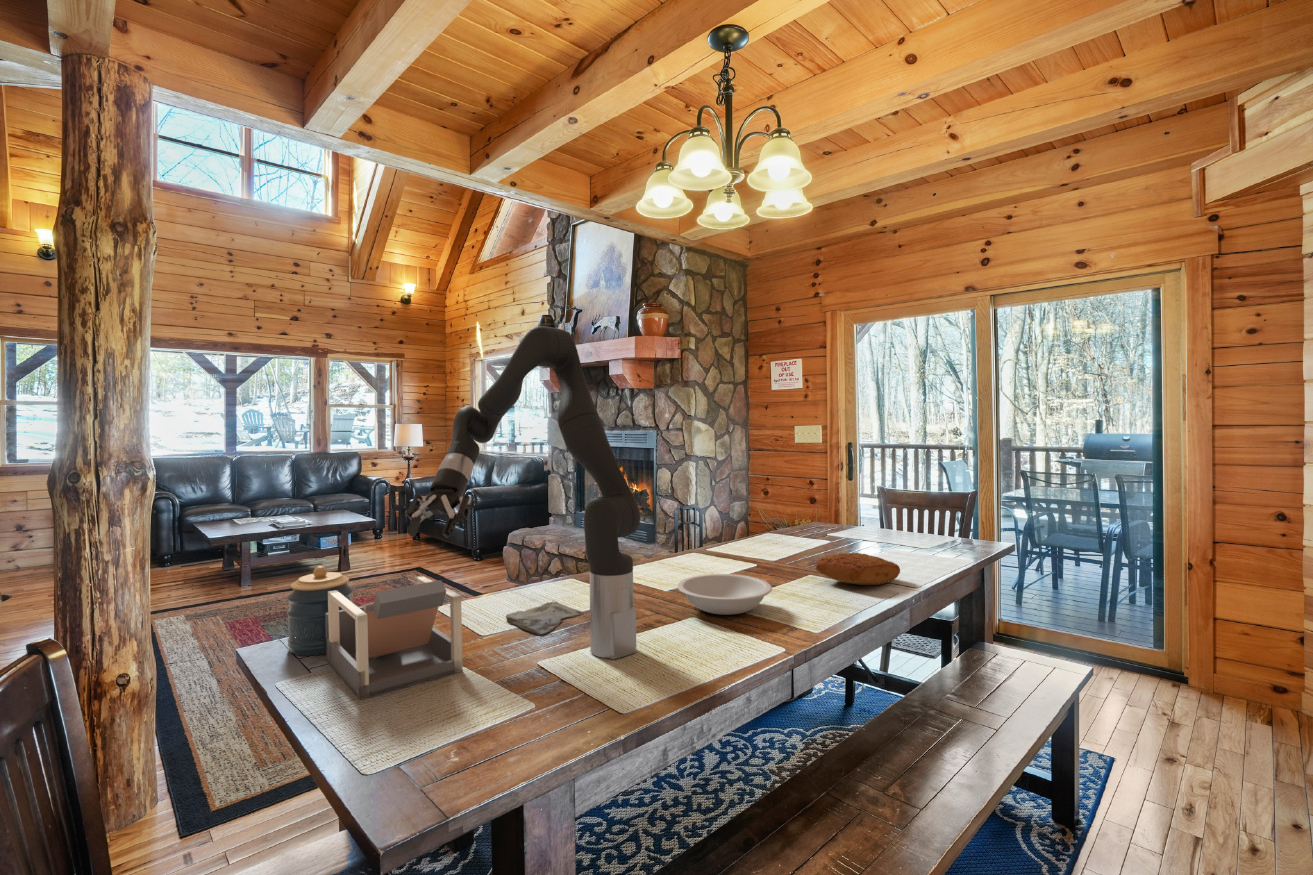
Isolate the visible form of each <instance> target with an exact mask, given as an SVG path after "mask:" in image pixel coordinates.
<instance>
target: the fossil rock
mask: <svg viewBox="0 0 1313 875" xmlns="http://www.w3.org/2000/svg"><path fill="white" fill-rule="evenodd" d="M581 615H584V612H583V611H581V610H579V609H576V608H572V607H570V606H567V605H564V604H562V603H559V602H558V601H551V602H550V601H547V602H546V603H543V604H541V605H539V606H535V607H532V608H529V609H525V610H521V611H520V610H519V611H518V610H517V611H515V612H511V613H508V614H506V615H505V619H506V622H508V623H510V624H511V625H513V626H517V627H518V628H520V629H522V630H524V631H526V632H528V633H532V634H536V635H538V636H543V635H546V634H548V633H550V632H552V631H553V630H555V628H556V627H558V626H559V625H560V623H561V622H562V620H565V619H567V618H576V617H578V616H581Z"/></svg>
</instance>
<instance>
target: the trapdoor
mask: <svg viewBox="0 0 1313 875" xmlns="http://www.w3.org/2000/svg"><path fill="white" fill-rule="evenodd" d="M432 581H433V582H428V583H422V584H417V585H415V584H411V585H407V586H399V587H394V588H389V589H383V590H379V591H376V592H375V595H374V596H375V597H374V600H373V602H374V603H373V604H368V603H367V604H368V605H365V604H364V605H365V610H364V612H365V613H366V614H367V624H368V658H371V657H375V656H379V655H383V654H387V653H392V652H396V651H400V650H404V649H408V648H412V647H416V646H420V645H425V644H428V643H429V639H430V636H431V632H432V628H433V627H434V624H435V621H436V617H437V613H438V610H439V607H442V606H443V605H444V602H445V599H446V598H445V594H446V589H445V588H446V586H444V583H443V581H442V580H441V579H440V580H435V581H434V580H432ZM355 659H356V654H355Z"/></svg>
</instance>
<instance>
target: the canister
mask: <svg viewBox="0 0 1313 875" xmlns="http://www.w3.org/2000/svg"><path fill="white" fill-rule="evenodd" d="M349 581H350V578H349V577H348V576H346V575H343V574H342V573H341V572H337V571H336V572H335V571H328V569H327V568H326V567H325V566H324V565H318V566H316V567H315V568H314V570H313V573H310V574H306V575H303V576H302V575H301V576H299V578H298V579H297V580H295V581H294V582H292V583H291V585H290V588H291V589H292V591H291V592H289V593H287V596H286V600H287V601H288V602H289V608H288V610H287V612H286V615H287V624H288V625H287V626H288V627H287V628H288V629H287V630H288V638H287V647H288V648H289V649H288V651H289V652H290V653H291V654H293V655H296V656H304V657H305V656H318V655H326V620H325V613H328V592H329V591H334V590H337V591H338V592H339V593H341V594H342V595H343V596H345V597H346V598H347V599H348V600H350V601H351V602H352V603H353V604H355V602H354V601H352V593H353V592H354V587H353V586H351V585H350V584H348V582H349ZM340 610H343V609H342V608H341V607H340V606H339V611H340ZM295 637H296V638H295Z"/></svg>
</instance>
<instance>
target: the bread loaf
mask: <svg viewBox="0 0 1313 875" xmlns="http://www.w3.org/2000/svg"><path fill="white" fill-rule="evenodd" d="M815 565H816V566H815V570H816V571H817V572H818V573H819V574H821V575H824V576H826V577H828V578H830V579H832V580H834V581H835V580H836V581H838V582H843V583H846V584H853V585H857V586H858V585H859V586H878V585H883V584H884V585H885V584H887V583H891V582H892V581H894V580H896V578H898V576H899V574H900V573H901V568H900V566H899V565H898V564H897V563H895V562H893V561H889V560H888V559H884V558H882V557H879V556H873V555H871V554H868V553H867V554H866V553H860V552H850V553H848V552H842V553H838V554H830V555H827V556H823V557H821V558H820V559H819V560H818V561H817V563H816V564H815Z"/></svg>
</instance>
